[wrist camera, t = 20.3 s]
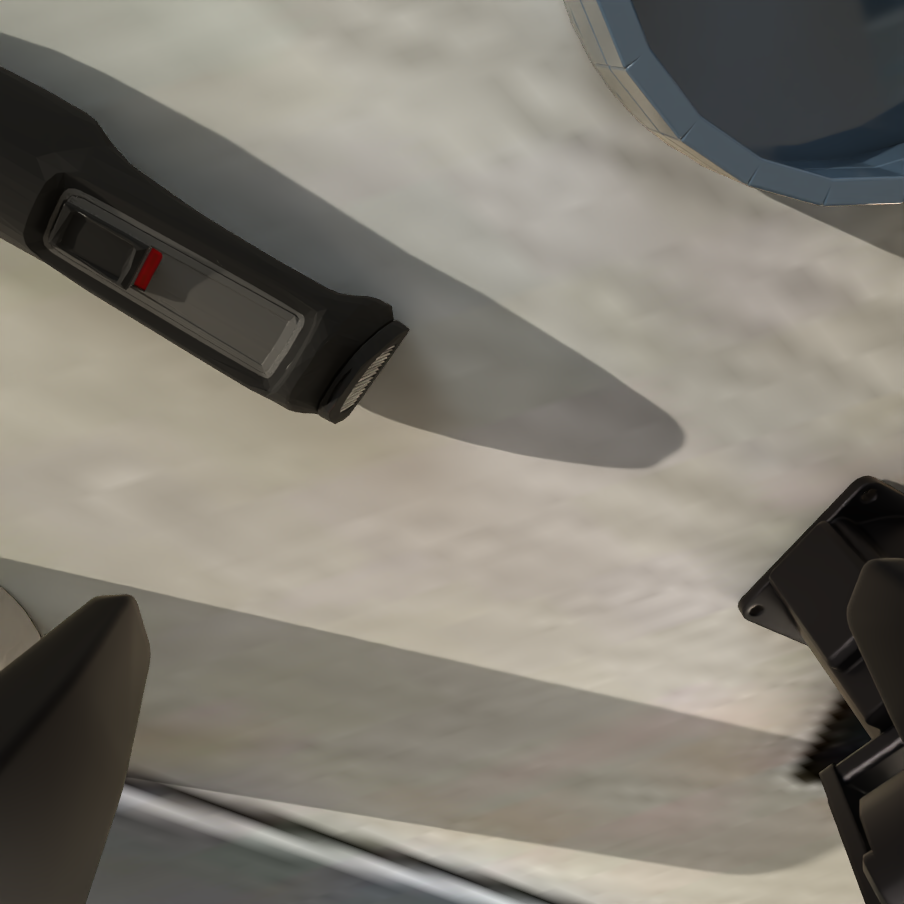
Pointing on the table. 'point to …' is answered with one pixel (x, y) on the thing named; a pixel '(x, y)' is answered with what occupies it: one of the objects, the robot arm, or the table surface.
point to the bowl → (763, 88)
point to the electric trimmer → (179, 263)
